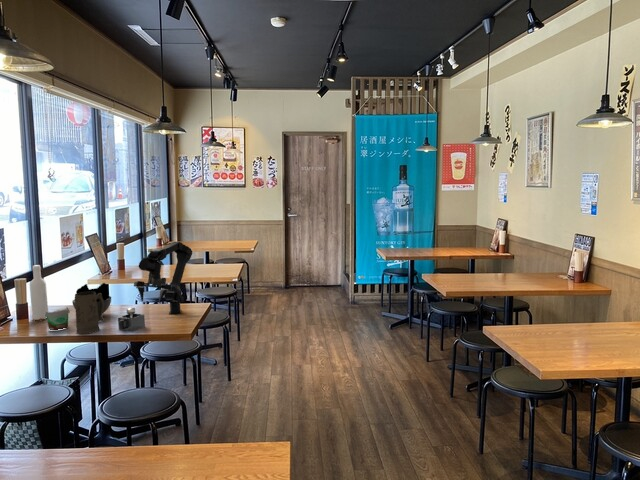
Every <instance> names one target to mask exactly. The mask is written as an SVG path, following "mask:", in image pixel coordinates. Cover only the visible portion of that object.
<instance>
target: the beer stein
mask: <svg viewBox="0 0 640 480" xmlns="http://www.w3.org/2000/svg"><path fill="white" fill-rule="evenodd" d="M74 299H75V303H76V307H75V308H74V310H75V324H76V330H75V331H76V334H78V333H79V334H80V335H88V333H90V334H93V332H94V333H97V332H99V331H100V326H99V325H100V322H103V321H104V318H103V314H104V313H103V310H104V301H103V298H102V293H99V294H98V295H96V293H95V292H81V293H75V294H74ZM96 299H99V302H100V310H99V315H98V305H97V300H96ZM102 313H103V314H102ZM79 334H78V335H79Z"/></svg>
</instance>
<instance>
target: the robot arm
mask: <svg viewBox="0 0 640 480" xmlns="http://www.w3.org/2000/svg"><path fill="white" fill-rule="evenodd" d="M172 253H175V254H176V255H175V257H176V259H177V262H176V265H175V269H174V271H173V276H172V279H171V282H170V284H167V283H166V282H167V278H166V277H161V271H162V266H165V264H164V262H163V260H165V259H166V258H167V256H168V255H169V254H172ZM192 256H193V250H192V248H190V247H189V246H187V245H185V244H184V243H183V242H182V241H173V242H172V243H169V244H167V245H165V246H164V247H160V248H154V249H151V250H150V252H149V253H148V255H147V256H146V257H142V259H141V260H140V261H139V262H138V269H139V270H140V271H146V272H149V273H148V275H147V276H148V277H147V278H148V280H147V283H146V282H145V281H142V280H140V281H139V280H135V281H134V282H133V287H136V289H137V290H138V293H139V296H140V300H141V302H144V293H145V287H147V288H157V289H160V290H159V298H158V303H161V302H162V300H163V298H164V299H165V303H169V312H168V314H169V315H177V314H182V308H181V303H184V300H185V297H184V296H183V295H182V293H181V292H182V289H181V287H180V286H181V282H182V279H183V275H184V272H185V268H186V265H187V263H188V262H189V261H190V260H191V259H192Z"/></svg>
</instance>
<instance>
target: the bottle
mask: <svg viewBox="0 0 640 480" xmlns="http://www.w3.org/2000/svg"><path fill="white" fill-rule="evenodd" d="M41 269H42V268H41V265H40V264H35V265H32V274H33V279H32V280H31V281H30V283H29V290H30V301H31V302H30V303H31V312H32V315H31V316H32V319H33V318H34V319H40V318H46V316H45V313H46V312H49V305H48V294H47V293H48V291H47V283H46V281H45V279H43V277H42V272H41Z"/></svg>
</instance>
